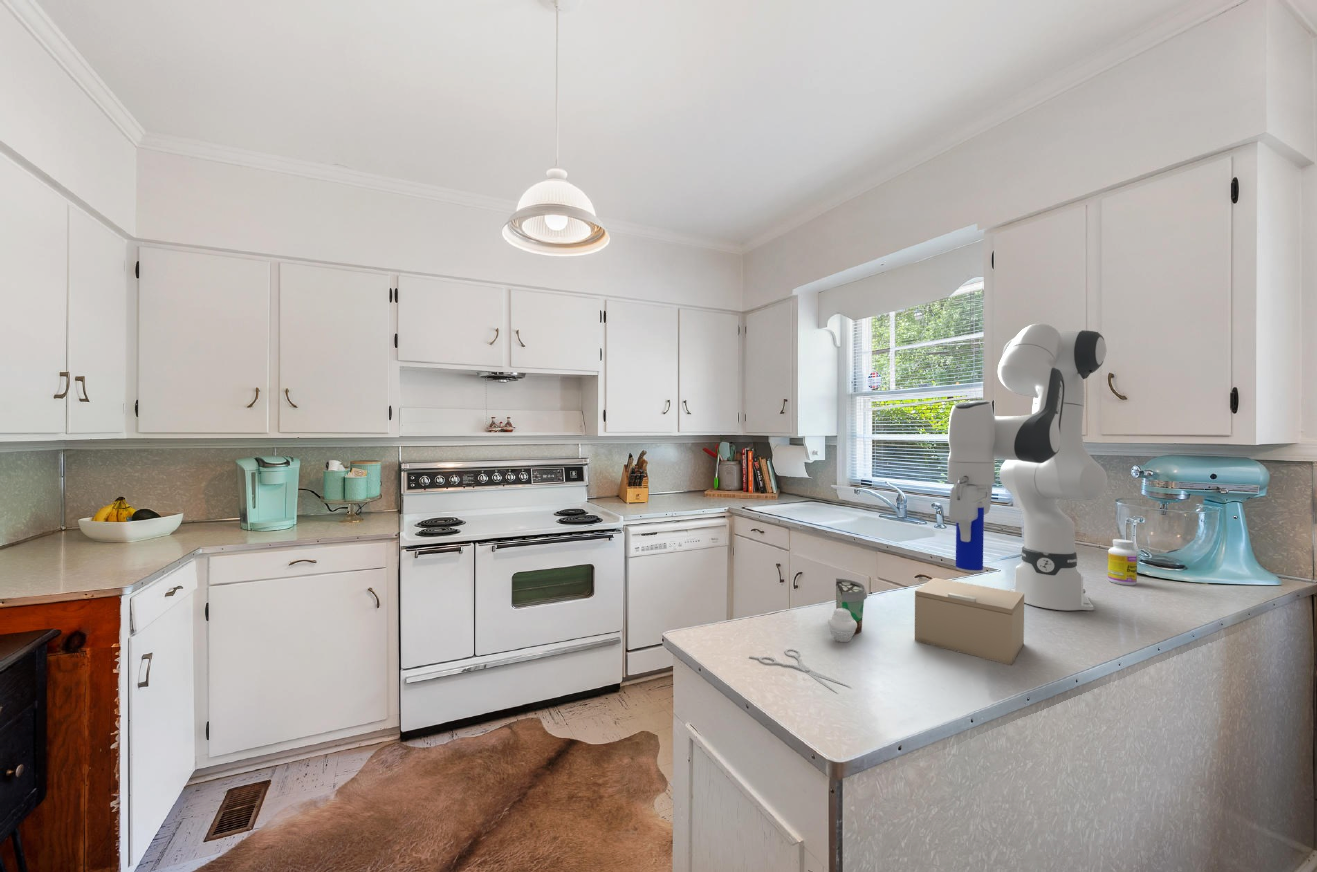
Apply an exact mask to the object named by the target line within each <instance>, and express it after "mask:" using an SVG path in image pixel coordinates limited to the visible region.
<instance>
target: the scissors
mask: <svg viewBox="0 0 1317 872" xmlns="http://www.w3.org/2000/svg"><path fill="white" fill-rule="evenodd" d="M789 652H795V653H797V654H792V653H791V654H790V653H789ZM784 654H785V655H786V656H787V657H791V658H794V659H796V660H797V662H798V665H797V664H790V663H789V664H788V663H784V662H783V663H782V662H780V661H778V660H777V659H776V658H774V657H772V656H771V657H770V656H761V657H759V656H752V655H749V656H748V659H753V660H758V662H760V663H761V664H763V665H768V666H775V665H776V666H781V667H783V668H786V667H788V668H793V669H795V670H798V671H801V672H804V673H805V674H807V675H808V676H810V677H811V678H813V679H814V680H815V681H816V682H818V683H820V684H821V685H823V686H824V687H826V688H827V689H829V690H830V691H832V692H833V693H835V694H838V695H839V693H838V692H837V691H836V690H835V689H833V688H832V687H831V686H830V685H829V684H827V683H826V682H825V681H823V680H822V679H825V680H827V681H830V682H833V683H837V684H841V685H843V686H846V687H849V688H851V686H850V685H847V684H845V683H843V682H841V681H838V680H836V679H834V678H831V677H829V676H826V675H824V674H821V673H819V672H816V671H814V670H812V669H811V668H810V667H808V666H807V665H805V664H804V663H803V662H802V659H801V658H800V657H801V652H800V651H798V650H797V649H794V648H793V649H792V648H787V649H785V650H784ZM765 659H766V660H770V661H771V662H770V661H765ZM821 678H822V679H821Z"/></svg>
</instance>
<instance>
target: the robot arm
mask: <svg viewBox="0 0 1317 872" xmlns="http://www.w3.org/2000/svg"><path fill="white" fill-rule="evenodd" d="M1106 356H1107V344H1106V342H1105V338H1104V337H1103V335H1102V334H1101V333H1099V332H1098V331H1096V330H1095V331H1094V330H1085V329H1083V330H1080V331H1058V330H1057V329H1056V328H1055V327H1053V326H1051V325H1049V324H1045V323H1034V324H1031V325H1028V326H1026V327H1025V328H1023V329H1022V330H1021V331H1019V333H1018V334H1017V335H1016V336H1015V337H1013V338H1011V339H1010V340H1009V341H1008V342H1006V344H1005V345H1004V347H1003V350H1002V357H1001V359H1000V361H999V363H998V367H997V375H998V376H997V377H998V379H999V381H1000V382H1001V384H1002V385H1003V386H1004V387H1005V388H1006V389H1007V390H1009V391H1011V392H1012V393H1014V394H1016V395H1020V396H1025V397H1031V398H1033V402H1032V409H1031V414H1030V413H1029V414H1026V415H1021V416H1020V415H1017V416H1016V415H1013V416H1011V415H1008V416H1001V415H1000V416H998V415H995V414H994V409H993V408H994V407H993V404H992V402H991V401H988V400H984V399H982V400H981V399H975V400H965V401H960V402H956V403H955V404H953V406H952V407H951V410H950V415H949V419H948V420H949V421H948V429H947V430H948V433H947V441H948V446H949V454H948V457H947V482H948V483H950V484H953V485H952V486H951V489H950V494H949V503H948V504H949V507H948V510H949V511H948V518H949V521H950V522H951V523H955V524H956V523H959V529H960V533H961V541H964V542H969V541H971V540H972V533H971V522H972V521H973V520H975V519H977V517H978V503H980V502H982V503H983V506H984V516H985V515H987V514H989V512H990V509H991V503H992V495H993V485H995V484H996V483H995V482H996V477H997V476H996V471H995V470H996V466H995V465H996V463H995V462H996V460H1001V461H1003V460H1005V461H1004V462H1003V463H1002V465H1001V466H1000V468H999V469H1000V470H999V472H998V473H999V481H1000V484H1001V486H1002V487H1004V489H1006V490H1007V491H1008V493H1010V494H1011V495H1012V496H1013V498H1014V500H1015V501H1016V503H1017V505H1018V508H1019V511H1020V513H1021V516H1022V523H1023V546H1022V548H1021V552H1020V553H1021V563H1019V564H1017V566H1015V567H1014V584H1013V585H1014V586H1013V588H1011V589H1009V590H1008V591H1013V592H1019V593H1024V604H1027V605H1030V606H1034V607H1040V608H1044V609H1050V610H1058V611H1094V605H1093V604H1092V602H1091V600H1090V599H1089V598H1088V596H1087V594H1086V590H1085V588H1084V576H1083V575H1082V574H1081V572H1079V571H1078V570H1077V568H1076V567H1077V566H1078V557H1077V556H1078V555H1077V552H1076V548H1075V547H1076V526H1075V523H1074V521H1073V520H1072V518H1071V517H1070V516H1069V515H1066V514H1065V513H1064V512H1063V511H1062V510H1061V509H1060V508H1059V506H1058V504H1057V502H1056V500H1063V501H1072V502H1077V501H1079V502H1080V501H1092V500H1093V501H1094V500H1097V499H1098V498H1100V497H1101V496H1102V495H1103V494H1104V492H1105V491H1106V489H1107V487H1108V475H1107V472H1106V471H1105V469H1104V468H1103V466H1102V465H1101V464H1099V463H1098V462H1097V461H1096V460H1095V459H1093V457H1092V456H1091V455H1090V453H1089V452H1088V450H1087V448H1086V446H1085V442H1084V439H1083V419H1084V418H1083V416H1084V406H1085V383H1084V382H1085V381H1084V380H1086V379H1088V378H1089V376H1090V375H1091V374H1093V373H1095V372H1096V371H1098V370H1099V368H1100V367H1101V366H1102V365H1103V363H1104V360H1105V358H1106Z"/></svg>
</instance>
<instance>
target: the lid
mask: <svg viewBox="0 0 1317 872" xmlns="http://www.w3.org/2000/svg"><path fill="white" fill-rule="evenodd" d="M915 595H917V596H922V597H927V598H932V599H937V600H942V601H947V602H952V603H957V604H962V605H967V606H972V607H977V608H982V609H987V610H992V611H998V612H1003V613H1008V614H1013V612H1014V611H1015V610H1016V608H1017V607H1018V606H1019V604H1020V603H1021V602H1022V600H1023V599H1024V593H1019V592H1013V591H1009V590H1007V589H1002V588H995V587H989V586H985V585H984V586H983V585H979V584H972V583H967V582H961V581H955V580H949V579H943V578H938V577H933V578H931V579H930V580H928V581H926V583H924V584H922V585H921V586H920V587H918V588H916V589H915V590H914V596H915Z"/></svg>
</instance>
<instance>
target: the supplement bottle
mask: <svg viewBox="0 0 1317 872" xmlns="http://www.w3.org/2000/svg"><path fill="white" fill-rule="evenodd" d="M1112 545H1113V546H1112V547H1110V548H1109V549H1108V552H1107V553H1108V557H1107V559H1108V563H1107V564H1108V565H1107V580H1108V581H1109V582H1110V583H1112V584H1117V585H1120V584H1121V585H1120V586H1135V585H1137V584H1138V583H1137V582H1138V580H1137V579H1138V578H1137V577H1138V552H1137V551H1136V550H1134V549H1133V547H1134V541H1133V540H1130V539H1129V540H1128V539H1119V538H1114V539H1112Z"/></svg>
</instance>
